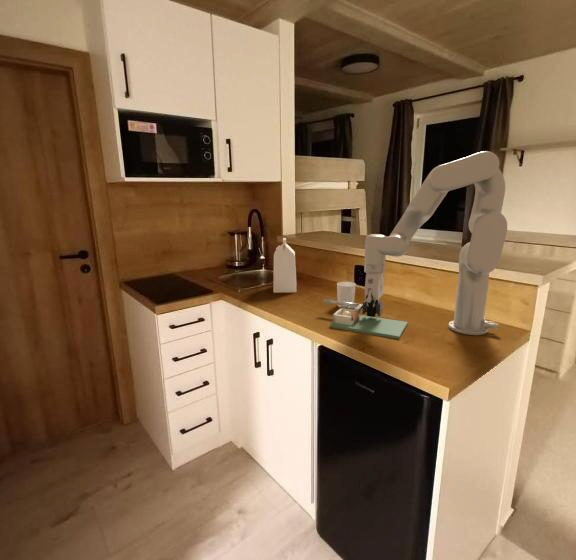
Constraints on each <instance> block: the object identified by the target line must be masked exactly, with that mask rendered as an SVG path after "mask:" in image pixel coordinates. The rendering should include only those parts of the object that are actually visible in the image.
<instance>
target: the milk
mask: <svg viewBox="0 0 576 560" xmlns="http://www.w3.org/2000/svg"><path fill="white" fill-rule="evenodd" d="M296 268H297V266H296V251H295V250H294V249H292V247H291V246H290V245H289V244H288V243H287V238H286V237H283V238H282V244H281V245H278V246H277V247H276V248H275V250H274V253H273V284H272V285H273V287H272V289H273V291H272V292H273V293H280V294H281V293H297V292H298V291H297V269H296Z"/></svg>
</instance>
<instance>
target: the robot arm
mask: <svg viewBox="0 0 576 560" xmlns="http://www.w3.org/2000/svg"><path fill="white" fill-rule="evenodd" d="M469 185H474V188H475V190H474V191H475V193H474V194H475V195H474V199H473V205H472V208H471V214H470V217H469V220H468V230H469V231H470V233H471V237H470V241H469V242H467V243H466V244H464V245H463V246H462V247H461V250H460V252H459V255H458V277H457V285H456V286H457V287H456V296H455V307H454V317H453V320H451V321H449V322H448V328H449V329H450V330H452V331H453V332H456V333H458V334H463V335H467V336H468V335H469V336H482V335H486V334H487V333H488V329H493V330H499V325H500V324H499V323H495V321H491V320H490V321H488V320H487V319H486V316H485V315H486V305H487V299H488V292H489V291H488V289H489V283H490V273H492V272H493V271H495V269H496V268H497V267H498V265H499V263H500V259H501V256H502V253H503V251H504V245H505V243H506V242H505V241H506V238H507V233H508V221H507V218H506V217H505V215H504V214H503V213H502V210H503V205H504V198H505V195H506V194H505V193H506V181H505V177H504V175H503V173H502V171H501V169H500V159H499V157H498V155H497V154H495V153H494V152H493V151H488V150H485V151H484V150H483V151H480V152H476V153H473V154H471V155H468V156H466V157H462V158H459V159H456V160H453V161H450V162H447V163H443V164H438V165H437V166H435V167H434V168H432V170H431V171H430V172H429V173H428V174H427V176H426V178H425V179H424V181H423V182H422V184H421V186H420V187H419V189H418V191H417V192H416V194H414V196H413V198H412V200H411V201H410V202H409V204H408V205H407V207H406V209H405V211H404V213H403V214H402V216H401V217H400V219H399V220H398V222H397V224H396V225H395V226H394V228H393V230H392V231H391V232H390V234H389V236H386V235H384V234H380V233H378V234H377V233H375V234H374V233H372V234H368V235H366V236H365V240H364V266H363V267H364V270H363V271H364V273H366V274H365V284H364V298H365V300H366V299H367V312H366V316H369V317H376V315H377V314H376V307H375V302H378V303H380V299H381V297H382V296H383V295H384V291H385V290H384V287H385V285H384V279H385V278H384V273H386V256H389V257H390V256H391V257H396V258H397V257H398V258H399V257H402V256H404V255H406V254H407V253H408V251H409V247H410V246H409V244H410V242H411V240H412V239H413V237H414V236H415V235H416V233H417V232H418V230H420V228H421V227H422V226H423V225H424V224H425V223H426V222H427V221H429V219H430V218H431V217H432V216H433V215H434V213H435V211H437V208H438V207H439V205H440V204H441V203H442V201H443V200H444V198H446V196H447V194H448V192H450V191H454V190H456V189H460V188H465V187H467V186H469Z"/></svg>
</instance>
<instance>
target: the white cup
mask: <svg viewBox="0 0 576 560" xmlns="http://www.w3.org/2000/svg"><path fill="white" fill-rule="evenodd" d="M356 286H357V284H356V283H355V282H351V281H340V282H337V283H336V295H337V297H336V299H337V301H343V302H350V303H355V295H356ZM341 306H342V305H339V304H337V307H338V308H339V309H340V308H341ZM350 307H351V306H348V309H350Z"/></svg>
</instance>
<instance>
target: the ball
mask: <svg viewBox="0 0 576 560" xmlns="http://www.w3.org/2000/svg"><path fill="white" fill-rule="evenodd" d="M342 315H344V316H350V317H351V313H350V312H349V311H344V312H343V313H342Z"/></svg>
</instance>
